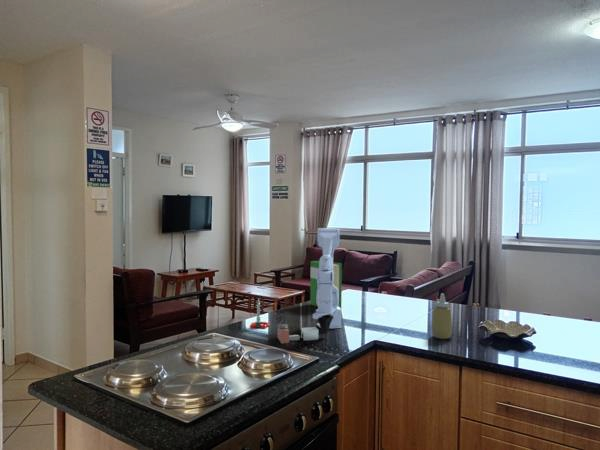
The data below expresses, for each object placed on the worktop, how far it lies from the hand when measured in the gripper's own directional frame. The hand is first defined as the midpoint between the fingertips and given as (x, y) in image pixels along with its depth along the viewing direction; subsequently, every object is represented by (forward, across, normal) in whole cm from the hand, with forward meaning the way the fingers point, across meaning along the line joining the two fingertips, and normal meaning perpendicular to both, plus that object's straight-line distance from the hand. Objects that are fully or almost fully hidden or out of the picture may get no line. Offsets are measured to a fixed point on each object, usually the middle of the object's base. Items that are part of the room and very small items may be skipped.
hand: (324, 333), depth 175 cm
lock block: (+2, +5, -4) cm, 7 cm away
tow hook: (+2, +3, -33) cm, 33 cm away
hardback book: (+2, -49, -33) cm, 59 cm away
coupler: (+2, +12, -10) cm, 16 cm away
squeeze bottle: (+2, -30, +37) cm, 48 cm away
